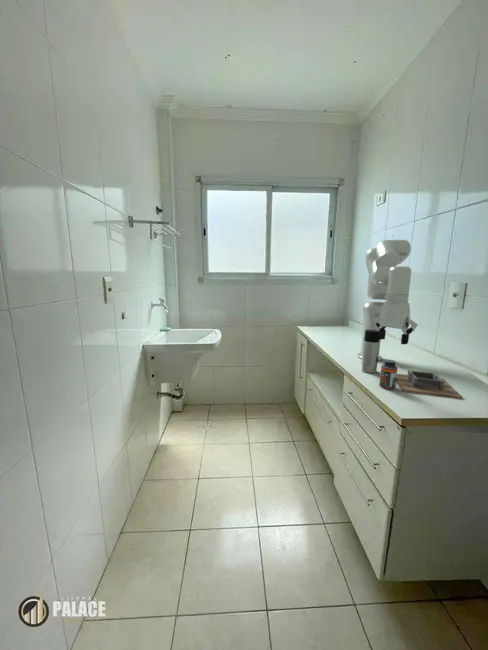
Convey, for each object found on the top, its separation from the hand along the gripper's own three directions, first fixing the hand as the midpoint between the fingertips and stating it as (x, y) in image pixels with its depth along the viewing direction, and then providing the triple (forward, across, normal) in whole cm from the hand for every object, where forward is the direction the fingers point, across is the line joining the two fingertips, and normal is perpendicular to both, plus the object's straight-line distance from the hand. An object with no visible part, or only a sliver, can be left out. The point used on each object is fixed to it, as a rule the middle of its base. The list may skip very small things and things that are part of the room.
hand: (392, 341), depth 110 cm
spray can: (+19, -18, +10) cm, 28 cm away
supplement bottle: (+20, -1, +1) cm, 20 cm away
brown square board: (+19, +5, +16) cm, 26 cm away
